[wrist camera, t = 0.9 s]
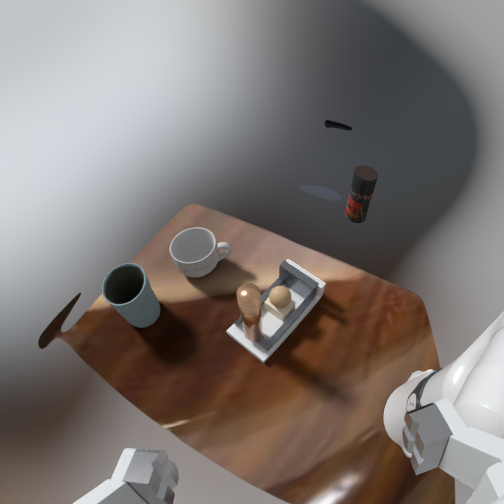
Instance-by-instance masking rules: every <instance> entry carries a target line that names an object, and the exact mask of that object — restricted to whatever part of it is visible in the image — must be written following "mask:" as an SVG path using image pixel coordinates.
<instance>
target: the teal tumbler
mask: <svg viewBox="0 0 504 504" xmlns="http://www.w3.org/2000/svg"><path fill="white" fill-rule="evenodd" d="M102 293H103V296H104V298H105V300H106V301H107V302H108V303H109V304H110V305H111V306H112V307H114V308H115V309H116V310H117V311H118V312H119V313H120V314H121V315H122V316H123V317H124V318H125V319H126V320H127V321H128V322H129V323H130V324H132V325H133V326H135V327H140V328H144V327H148V326H150V325H152V324H153V323H154V322H155V321H156V320H157V319H158V317H159V314H160V304H159V301H158V299H157V297H156V295H155V294H154V292H153V290H152V289H151V286H150V283H149V281H148V278H147V276H146V274H145V272H144V270H143V269H142V268H141V267H140V266H139V265H137V264H133V263H127V264H122V265H119V266H117V267H115V268H114V269H113V270H111V271H110V272H109V274H108V275H107V276H106V278H105V280H104V282H103V287H102Z"/></svg>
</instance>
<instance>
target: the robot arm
mask: <svg viewBox="0 0 504 504" xmlns="http://www.w3.org/2000/svg"><path fill="white" fill-rule="evenodd" d="M384 425H385V429H386V431H387V433H388V435H389V436H390V438H391V439H392V440H393V441H394V442H395V443H397V444H398V445H399V446H401V447H402V449H403V451H404V453H405V455H406V456H407V457H408V458H411V463H412V466H413V468H414V471H415V473H416V475H417V474H420V473H423V472H426V471H428V470H431V469H434V468H436V467H439V468H440V469H442V470H443V471H445V472H447V473H448V474H450V475H451V476H453V477H454V478H456V479H458V480H459V481H461V482H463V483H464V484H466V485H467V486H469V487H471V488H473V489H474V492H473V493H472V494H471V496H470V497H469V499H468V500H467V502H466V504H504V311H503V313H502V314H501V315H500V316H499V317H498V318H497V319H496V320H495V321H494V322H493V323H492V324H491V325H490V326H489V327H488V329H486V331H485V332H484V333H483V334H482V335H481V336H480V337H479V338H478V339H477V340H476V341H475V342H474V343H473V344H472V345H471V346H470V347H469V348H468V349H467V350H466V351H465V352H464V353H463V354H462V355H461V356H460V357H459V358H457V359H456V360H455V361H453V362H452V363H450V364H449V365H448V366H446V367H445V368H441V369H438V370H436V371H433V370H432V369H431V370H428V371H425V372H422V371H416V372H414V373H413V374H412V375H411V376H410V378H409V379H408V381H407V382H406V383H404V384H403V385H401V386H400V387H398V388H397V389H396V390H395V391H394V392H393V393H392V394H391V396H390V397H389V399H388V401H387V403H386V406H385V409H384ZM168 457H169V455H168V454H167V453H166V452H165V451H164V450H146V449H134V448H126V449H125V450H124V451H123V453H122V455H121V457H120V460H119V462H118V464H117V466H116V469H115V471H114V473H113V476H112V478H111V480H110V479H107V480H106V481H105V482H103V483H102V484H100V485H99V486H98V487H96V488H95V489H93V490H92V491H90V492H89V493H88V494H86V495H85V496H83V497H82V498H80V499H79V500H77V501H76V502H74V503H73V504H173V500H174V495H175V494H174V492H173V490H172V489H173V488H174V487H175V486H176V485H177V484H178V479H179V477H178V470H177V467H176V466H175V464H174V463H173V462H171V461H170V460H168Z"/></svg>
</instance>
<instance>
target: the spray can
mask: <svg viewBox="0 0 504 504" xmlns="http://www.w3.org/2000/svg"><path fill="white" fill-rule="evenodd" d="M377 177H378V174H377V172H376V171H375V170H374V169H373V168H371V167H368V166H358V167H356V168H355V172H354V176H353V181H352V185H351V190H350V195H349V199H348V203H347V208H346V212H345V215H346V217H347V219H348V220H350V221H351V222H354V223H361V222H363V221H364V220H365V219H366V215H367V212H368V209H369V205H370V202H371V199H372V195H373V191H374V188H375V184H376V181H377Z"/></svg>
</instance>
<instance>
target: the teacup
mask: <svg viewBox="0 0 504 504" xmlns="http://www.w3.org/2000/svg"><path fill="white" fill-rule="evenodd" d="M221 248H225V249H227V251H226V252H224V253H222V254H218V251H219V249H221ZM231 252H232V247H231V245H230V244H228V243H226V242H221V243H218V244H216V239H215V236H214V234H213V233H212V232H211V231H209V230H207V229H205V228H200V227H195V228H189V229H186V230H184V231H182V232H180V233H179V234H178V235H176V236H175V238H174V239H173V240H172V242H171V244H170V254H171V256H172V257H173V260H174V262H175V264H176V266H177V268H178V269H179V271H180V272H181V273H182V274H184V275H186V276H188V277H194V278H195V277H202V276H205V275H207V274H209V273H210V272H211V271H212V270H213V269H214V268H215V266H216V264H217V262H218V261H220V260H221V259H224V258H226V257H228V256H229V255H230V254H231Z"/></svg>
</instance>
